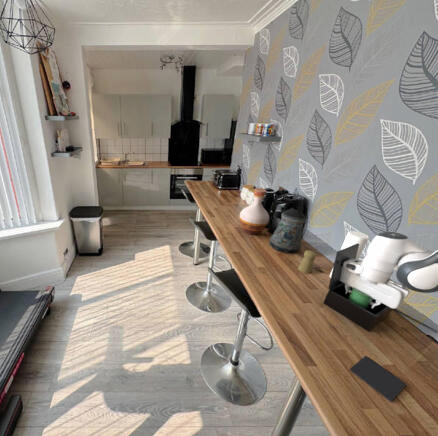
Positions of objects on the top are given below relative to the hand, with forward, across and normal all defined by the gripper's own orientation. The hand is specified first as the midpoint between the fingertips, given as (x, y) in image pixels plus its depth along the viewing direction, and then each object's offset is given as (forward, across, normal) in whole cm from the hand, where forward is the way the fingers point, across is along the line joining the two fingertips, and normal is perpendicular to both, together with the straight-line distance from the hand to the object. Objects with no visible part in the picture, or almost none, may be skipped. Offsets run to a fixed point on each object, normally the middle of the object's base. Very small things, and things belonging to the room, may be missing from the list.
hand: (359, 300), depth 93 cm
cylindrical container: (+6, +14, -17) cm, 23 cm away
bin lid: (-11, +8, 0) cm, 14 cm away
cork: (+6, +26, -10) cm, 28 cm away
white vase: (+6, +69, -20) cm, 72 cm away
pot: (+5, 0, 0) cm, 5 cm away
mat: (+6, -17, +25) cm, 31 cm away
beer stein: (+6, +47, -23) cm, 53 cm away
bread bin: (+6, 0, 0) cm, 6 cm away
